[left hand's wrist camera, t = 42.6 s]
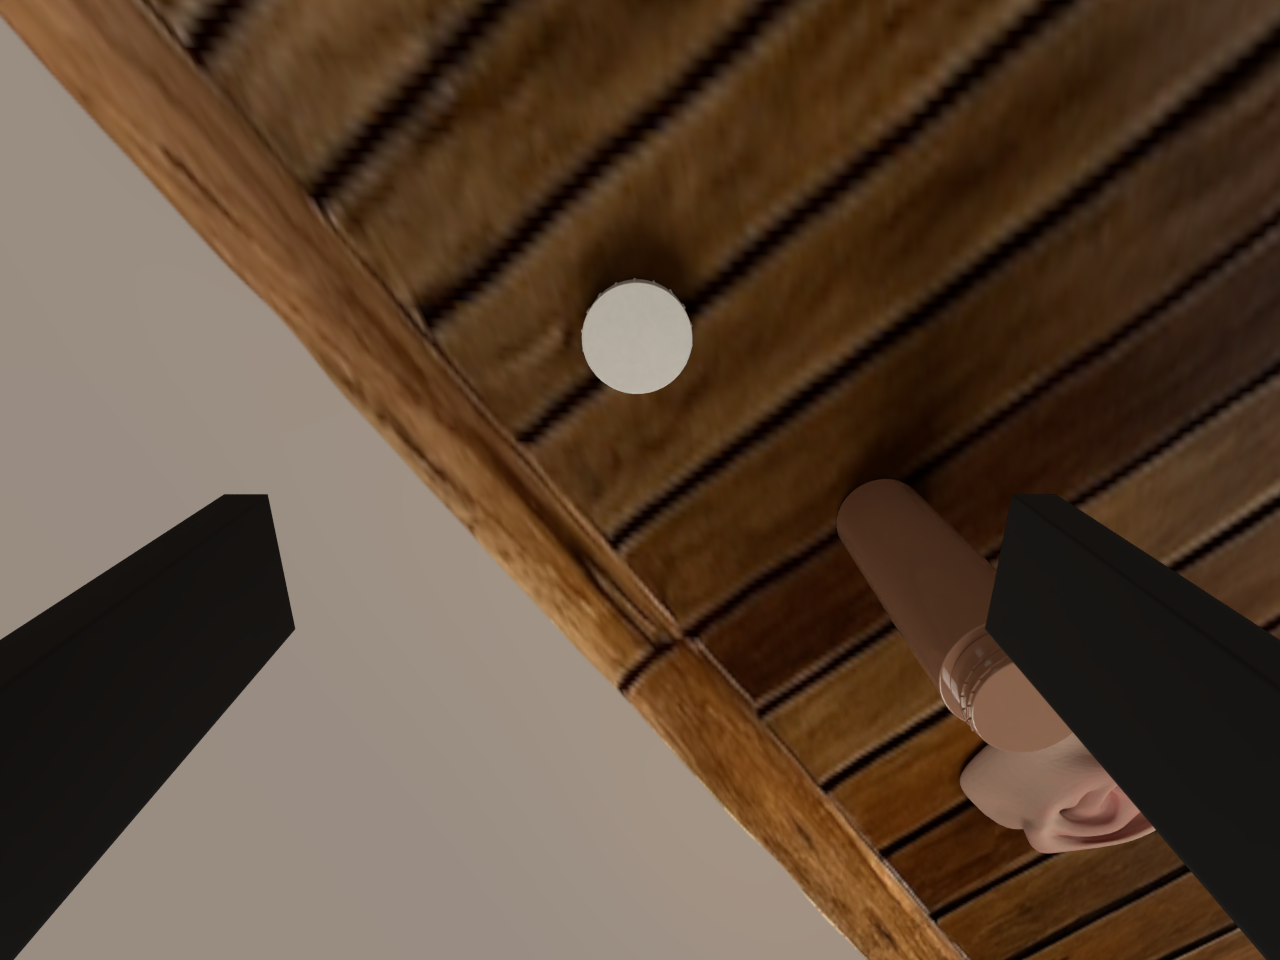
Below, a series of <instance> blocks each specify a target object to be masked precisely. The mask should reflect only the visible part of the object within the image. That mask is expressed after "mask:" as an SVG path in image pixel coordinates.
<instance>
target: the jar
mask: <svg viewBox="0 0 1280 960" xmlns="http://www.w3.org/2000/svg"><path fill="white" fill-rule="evenodd" d="M837 532H838V535H839V538H840V540H841V541H842V543H843V545H844V546H845V548H846V549H847V551H848V553H849V554H850V556H851V557H852V559H853V560H854V562H855V564H856V565H857V567H858V568H859V570H860V571H861V573H862V575H863V576H864V578H865V579H866V581H867V582H868V584H869V586H870V587H871V589H872V590H873V592H874V593H875V595H876V597H877V598H878V600H879V601H880V603H881V605H882V606H883V608H884V609H885V611H886V612H887V614H888V616H889V617H890V619H891V620H892V622H893V623H894V625H895V627H896V628H897V630H898V631H899V633H900V634H901V636H902V638H903V639H904V641H905V642H906V644H907V645H908V647H909V649H910V650H911V652H912V653H913V655H914V656H915V658H916V660H917V661H918V663H919V664H920V666H921V668H922V669H923V671H924V672H925V674H926V675H927V677H928V679H929V680H930V682H931V683H932V685H933V686H934V688H935V690H936V691H937V693H938V694H939V696H940V697H941V699H942V701H943V702H944V704H945V705H946V706H947V708H948V709H949V710H950V711H951V712H952V713H953V714H954V715H956V716H957V717H958V718H960V719H962V720H964V721H966V722H967V723H968V725H969V726H970V728H971V730H972V731H974V732H976V733H977V734H978V735H979V736H980V737H981V738H982V739H983V740H984V741H985V742H987V743H988V744H990V745H991V746H993V747H995V748H998V749H1001V750H1004V751H1008V752H1032V751H1037V750H1041V749H1044V748H1047V747H1050V746H1052V745H1054V744H1056V743H1058V742H1060V741H1062V740H1063V739H1065V738H1066V737H1068V736H1069V735H1070V734H1071V733H1073V732H1072V731H1071V730H1070V729H1069V727H1068V726H1067V725H1066V724H1065V723H1064V721H1063V720H1062V719H1061V718H1060V717H1059V716H1058V714H1057V713H1056V712H1055V711H1054V710H1053V709H1052V707H1051V706H1050V705H1049V704H1048V703H1047V702H1046V700H1045V699H1044V698H1043V697H1042V696H1041V694H1040V693H1039V692H1038V691H1037V690H1036V689H1035V687H1034V686H1033V685H1032V684H1031V683H1030V682H1029V680H1028V679H1027V678H1026V677H1025V676H1024V674H1023V673H1022V672H1021V671H1020V670H1019V669H1018V667H1017V666H1016V665H1015V664H1014V663H1013V662H1012V660H1011V659H1010V658H1009V657H1008V656H1007V655H1006V653H1005V652H1004V651H1003V650H1002V649H1001V647H1000V646H999V645H998V644H997V643H996V642H995V640H994V639H993V638H992V637H991V636H990V635H989V633H988V632H987V631H986V630H985V626H986V621H987V616H988V611H989V606H990V601H991V596H992V591H993V586H994V582H995V577H996V572H997V570H996V569H995V568H994V567H993V566H992V565H991V564H990V563H989V562H988V561H987V560H986V559H985V558H984V557H983V556H982V555H981V554H980V553H979V552H978V551H977V550H976V549H975V548H974V547H973V546H972V545H971V544H970V543H969V542H968V541H967V540H966V539H964V538H963V537H962V536H961V535H960V534H959V533H958V532H957V531H956V530H955V529H954V528H953V527H952V526H951V525H950V524H949V523H948V522H947V521H946V520H945V519H944V518H943V517H942V516H941V515H940V514H939V513H938V512H937V511H936V510H935V509H934V508H932V507H931V506H930V505H929V504H928V503H927V502H926V501H925V500H924V499H923V498H922V497H921V496H920V495H919V494H918V493H917V492H916V491H915V490H914V489H913V488H911V487H910V486H909V485H907V484H905V483H903V482H901V481H897V480H892V479H879V480H874V481H870V482H868V483H865V484H863V485H861V486H859V487H858V488H856V489H855V490H854V491H852V492H851V493H850V494H849V495H848V496H847V498H846V499H845V500H844V502H843V503H842V505H841V507H840V509H839V512H838V516H837Z"/></svg>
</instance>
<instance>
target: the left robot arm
mask: <svg viewBox="0 0 1280 960" xmlns="http://www.w3.org/2000/svg"><path fill="white" fill-rule="evenodd" d="M294 630H295V626H294V621H293V616H292V611H291V606H290V601H289V596H288V592H287V587H286V582H285V577H284V572H283V567H282V562H281V557H280V552H279V547H278V543H277V538H276V533H275V528H274V523H273V518H272V513H271V509H270V504H269V499H268V495H267V494H224V495H223V496H221V497H219V498H218V499H216V500H215V501H213V502H212V503H210V504H209V505H207V506H206V507H204V508H203V509H201V510H199V511H198V512H196V513H195V514H193V515H192V516H190V517H189V518H187V519H186V520H184V521H183V522H181V523H179V524H178V525H176V526H175V527H173V528H172V529H170V530H169V531H167V532H166V533H164V534H163V535H161V536H159V537H158V538H156V539H155V540H153V541H152V542H150V543H149V544H147V545H146V546H144V547H143V548H141V549H139V550H138V551H136V552H135V553H133V554H132V555H130V556H129V557H127V558H126V559H124V560H123V561H121V562H119V563H118V564H116V565H115V566H113V567H112V568H110V569H109V570H107V571H106V572H104V573H103V574H101V575H99V576H98V577H96V578H95V579H93V580H92V581H90V582H89V583H87V584H86V585H84V586H83V587H81V588H79V589H78V590H76V591H75V592H73V593H72V594H70V595H69V596H67V597H66V598H64V599H63V600H61V601H60V602H58V603H56V604H55V605H53V606H52V607H50V608H49V609H47V610H46V611H44V612H43V613H41V614H39V615H38V616H36V617H35V618H33V619H32V620H30V621H29V622H27V623H26V624H24V625H23V626H21V627H19V628H18V629H16V630H15V631H13V632H12V633H10V634H9V635H7V636H6V637H4V638H3V639H1V640H0V960H14V959H15V957H16V956H17V955H18V954H19V953H20V952H21V950H22V949H23V948H24V947H25V946H26V945H27V943H28V942H29V941H30V940H31V939H32V938H33V936H34V935H35V934H36V933H37V932H38V930H39V929H40V928H41V927H42V926H43V925H44V923H45V922H46V921H47V920H48V919H49V918H50V916H51V915H52V914H53V913H54V912H55V910H56V909H57V908H58V907H59V906H60V905H61V903H62V902H63V901H64V900H65V899H66V898H67V896H68V895H69V894H70V893H71V892H72V891H73V889H74V888H75V887H76V886H77V885H78V884H79V882H80V881H81V880H82V879H83V878H84V876H85V875H86V874H87V873H88V872H89V871H90V869H91V868H92V867H93V866H94V865H95V864H96V862H97V861H98V860H99V859H100V858H101V857H102V855H103V854H104V853H105V852H106V851H107V849H108V848H109V847H110V846H111V845H112V844H113V842H114V841H115V840H116V839H117V838H118V836H119V835H120V834H121V833H122V832H123V831H124V829H125V828H126V827H127V826H128V825H129V824H130V822H131V821H132V820H133V819H134V818H135V816H136V815H137V814H138V813H139V812H140V811H141V810H142V808H143V807H144V806H145V805H146V804H147V802H148V801H149V800H150V799H151V798H152V797H153V795H154V794H155V793H156V792H157V791H158V790H159V788H160V787H161V786H162V785H163V784H164V782H165V781H166V780H167V779H168V778H169V777H170V775H171V774H172V773H173V772H174V771H175V770H176V768H177V767H178V766H179V765H180V764H181V763H182V761H183V760H184V759H185V758H186V757H187V755H188V754H189V753H190V752H191V751H192V750H193V748H194V747H195V746H196V745H197V744H198V743H199V741H200V740H201V739H202V738H203V737H204V736H205V734H206V733H207V732H208V731H209V730H210V728H211V727H212V726H213V725H214V724H215V723H216V721H217V720H218V719H219V718H220V717H221V716H222V714H223V713H224V712H225V711H226V710H227V708H228V707H229V706H230V705H231V704H232V703H233V702H234V700H235V699H236V698H237V697H238V696H239V694H240V693H241V692H242V691H243V690H244V689H245V687H246V686H247V685H248V684H249V683H250V682H251V680H252V679H253V678H254V677H255V676H256V674H257V673H258V672H259V671H260V670H261V669H262V667H263V666H264V665H265V664H266V663H267V661H268V660H269V659H270V658H271V657H272V656H273V655H274V653H275V652H276V651H277V650H278V649H279V647H280V646H281V645H282V644H283V643H284V642H285V640H286V639H287V638H288V637H289V636H290V635H291V633H292V632H293V631H294ZM985 630H986V631H987V632H988V633H989V635H990V636H991V637H992V638H993V639H994V640H995V642H996V643H997V644H998V645H999V646H1000V647H1001V649H1002V650H1003V651H1004V652H1005V653H1006V655H1007V656H1008V657H1009V658H1010V659H1011V660H1012V662H1013V663H1014V664H1015V665H1016V666H1017V667H1018V669H1019V670H1020V671H1021V672H1022V673H1023V674H1024V676H1025V677H1026V678H1027V679H1028V680H1029V682H1030V683H1031V684H1032V685H1033V686H1034V687H1035V689H1036V690H1037V691H1038V692H1039V693H1040V694H1041V696H1042V697H1043V698H1044V699H1045V700H1046V702H1047V703H1048V704H1049V705H1050V706H1051V707H1052V709H1053V710H1054V711H1055V712H1056V713H1057V714H1058V716H1059V717H1060V718H1061V719H1062V720H1063V721H1064V723H1065V724H1066V725H1067V726H1068V727H1069V729H1070V730H1071V731H1072V732H1073V733H1074V734H1075V736H1076V737H1077V738H1078V739H1079V740H1080V741H1081V743H1082V744H1083V745H1084V746H1085V747H1086V748H1087V750H1088V751H1089V752H1090V753H1091V754H1092V756H1093V757H1094V758H1095V759H1096V760H1097V761H1098V763H1099V764H1100V765H1101V766H1102V767H1103V768H1104V770H1105V771H1106V772H1107V773H1108V774H1109V775H1110V777H1111V778H1112V779H1113V780H1114V781H1115V783H1116V784H1117V785H1118V786H1119V787H1120V788H1121V790H1122V791H1123V792H1124V793H1125V794H1126V795H1127V797H1128V798H1129V799H1130V800H1131V801H1132V802H1133V804H1134V805H1135V806H1136V807H1137V808H1138V810H1139V811H1140V812H1141V813H1142V814H1143V815H1144V817H1145V818H1146V819H1147V820H1148V821H1149V822H1150V824H1151V825H1152V826H1153V827H1154V828H1155V830H1156V831H1157V832H1158V833H1159V834H1160V835H1161V837H1162V838H1163V839H1164V840H1165V841H1166V842H1167V844H1168V845H1169V846H1170V847H1171V848H1172V849H1173V851H1174V852H1175V853H1176V854H1177V855H1178V857H1179V858H1180V859H1181V860H1182V861H1183V862H1184V864H1185V865H1186V866H1187V867H1188V868H1189V869H1190V871H1191V872H1192V873H1193V874H1194V875H1195V876H1196V878H1197V879H1198V880H1199V881H1200V882H1201V884H1202V885H1203V886H1204V887H1205V888H1206V889H1207V891H1208V892H1209V893H1210V894H1211V895H1212V896H1213V898H1214V899H1215V900H1216V901H1217V902H1218V903H1219V905H1220V906H1221V907H1222V908H1223V909H1224V911H1225V912H1226V913H1227V914H1228V915H1229V916H1230V918H1231V919H1232V920H1233V921H1234V922H1235V923H1236V925H1237V926H1238V927H1239V928H1240V929H1241V931H1242V932H1243V933H1244V934H1245V935H1246V936H1247V938H1248V939H1249V940H1250V941H1251V942H1252V943H1253V945H1254V946H1255V947H1256V948H1257V949H1258V950H1259V952H1260V953H1261V954H1262V955H1263V956H1264V958H1265V959H1266V960H1280V640H1279V639H1277V638H1276V637H1274V636H1273V635H1271V634H1270V633H1268V632H1267V631H1265V630H1264V629H1262V628H1261V627H1259V626H1257V625H1256V624H1254V623H1253V622H1251V621H1250V620H1248V619H1247V618H1245V617H1244V616H1242V615H1241V614H1239V613H1237V612H1236V611H1234V610H1233V609H1231V608H1230V607H1228V606H1227V605H1225V604H1224V603H1222V602H1221V601H1219V600H1217V599H1216V598H1214V597H1213V596H1211V595H1210V594H1208V593H1207V592H1205V591H1204V590H1202V589H1201V588H1199V587H1197V586H1196V585H1194V584H1193V583H1191V582H1190V581H1188V580H1187V579H1185V578H1184V577H1182V576H1181V575H1179V574H1177V573H1176V572H1174V571H1173V570H1171V569H1170V568H1168V567H1167V566H1165V565H1164V564H1162V563H1161V562H1159V561H1157V560H1156V559H1154V558H1153V557H1151V556H1150V555H1148V554H1147V553H1145V552H1144V551H1142V550H1141V549H1139V548H1137V547H1136V546H1134V545H1133V544H1131V543H1130V542H1128V541H1127V540H1125V539H1124V538H1122V537H1121V536H1119V535H1117V534H1116V533H1114V532H1113V531H1111V530H1110V529H1108V528H1107V527H1105V526H1104V525H1102V524H1101V523H1099V522H1097V521H1096V520H1094V519H1093V518H1091V517H1090V516H1088V515H1087V514H1085V513H1084V512H1082V511H1081V510H1079V509H1077V508H1076V507H1074V506H1073V505H1071V504H1070V503H1068V502H1067V501H1065V500H1064V499H1062V498H1061V497H1059V496H1057V495H1056V494H1012V499H1011V503H1010V508H1009V513H1008V518H1007V523H1006V528H1005V533H1004V538H1003V543H1002V547H1001V552H1000V557H999V562H998V567H997V572H996V577H995V582H994V586H993V591H992V596H991V601H990V606H989V611H988V616H987V621H986V626H985Z"/></svg>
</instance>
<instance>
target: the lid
mask: <svg viewBox="0 0 1280 960" xmlns="http://www.w3.org/2000/svg"><path fill="white" fill-rule="evenodd" d="M586 313H588V314H587V316H586V318H585V321H584V325H583V328H582V330H581V332H582V346H583V351H584V355H585V358H586V360H587V362H588V364H589V366H590V368H591V369H592V371H593V372H594V373H595V374H596V376H597V377H598V378H599V379H600V380H602V381H603V382H604V383H605V384H607V385H608V386H610V387H612V388H614V389H616V390H619V391H622V392H626V393H633V394H642V393H649V392H652V391H656V390H658V389H660V388H663V387H664V386H666V385H668V384H669V383H670V382H672V381H673V380H674V379H675V378H676V377H677V376H678V375H679V374H680V372H681V371H682V370H683V368H684V367H685V365H686V364H687V361H688V358H689V356H690V352H691V348H692V346H693V344H692V328H691V327H692V324H691V322H690V320H689V318H688V315H687V313H686V311H685V306H684V304H681V302H680V301H679V300H678V298H677V297H676V296H675V295H674V294H673V293H672V290H671V289H670V290H668V289H667V288H665V287H664V286H662V285H660V284H658V283H655V281H654V280H653V281H648V280H642V279H636V278H634V279H632V280H626V281H622V282H619V283H617V282H615V284H614V285H612V286H611V287H609V288H608V289H606V290H605V291H604V292H603V293H601V292H600V293H599V295H598V298H597V299H596V300H595V302H594V303H593V305H592V306H591V308H589V309H588V310H587V312H586Z"/></svg>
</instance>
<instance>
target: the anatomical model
mask: <svg viewBox="0 0 1280 960" xmlns="http://www.w3.org/2000/svg"><path fill="white" fill-rule="evenodd" d="M960 785H961V788H962V790H963V791H964V793H965V794H966V795H967V797H968V798H969V799H970V800H971V801H972V802H973V803H974V804H975V805H976V806H977V807H978V808H979V809H980V810H981V811H982V812H983V813H984V814H985V815H987V816H988V817H990V818H991V819H993V820H994V821H995V822H997V823H999V824H1000V825H1002V826H1005V827H1008V828H1012V829H1024V831H1025V834H1026V836H1027V839H1028V841H1029V843H1030V844H1031V845H1032V847H1033V848H1035V849H1036V850H1037V851H1039V852H1042V853H1057V852H1066V851H1074V850H1082V849H1090V848H1098V847H1104V846H1110V845H1116V844H1120V843H1124V842H1128V841H1131V840H1134V839H1137V838H1140V837H1142V836H1144V835H1146V834H1149V833H1151V832H1153V831H1155V828H1154V827H1153V826H1152V825H1151V824H1150V822H1149V821H1148V820H1147V819H1146V818H1145V817H1144V815H1143V814H1142V813H1141V812H1140V811H1139V810H1138V808H1137V807H1136V806H1135V805H1134V804H1133V802H1132V801H1131V800H1130V799H1129V798H1128V797H1127V795H1126V794H1125V793H1124V792H1123V791H1122V790H1121V788H1120V787H1119V786H1118V785H1117V784H1116V783H1115V781H1114V780H1113V779H1112V778H1111V777H1110V775H1109V774H1108V773H1107V772H1106V771H1105V770H1104V768H1103V767H1102V766H1101V765H1100V764H1099V763H1098V761H1097V760H1096V759H1095V758H1094V757H1093V756H1092V754H1091V753H1090V752H1089V751H1088V750H1087V748H1086V747H1085V746H1084V745H1083V744H1082V743H1081V741H1080V740H1079V739H1078V738H1077V737H1076V736H1075V734H1074V733H1071V734H1070V735H1069V736H1068V737H1066V738H1065V739H1063V740H1062V741H1060V742H1058V743H1056V744H1054V745H1052V746H1050V747H1047V748H1044V749H1041V750H1037V751H1032V752H1008V751H1004V750H1001V749H998V748H995V747H993V746H991V745H990V744H988V745H986V746H985V747H984V748H983V749H982V750H981V751H980V752H979V753H978V754H977V755H976V756H975V757H974V758H973V759H972V760H971V761H970V762H969V764H968V765H967V766H966V767H965V769H964V770H963V772H962V774H961V777H960Z"/></svg>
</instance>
